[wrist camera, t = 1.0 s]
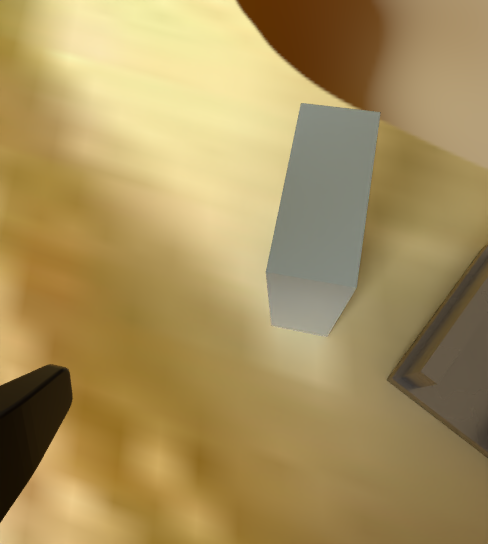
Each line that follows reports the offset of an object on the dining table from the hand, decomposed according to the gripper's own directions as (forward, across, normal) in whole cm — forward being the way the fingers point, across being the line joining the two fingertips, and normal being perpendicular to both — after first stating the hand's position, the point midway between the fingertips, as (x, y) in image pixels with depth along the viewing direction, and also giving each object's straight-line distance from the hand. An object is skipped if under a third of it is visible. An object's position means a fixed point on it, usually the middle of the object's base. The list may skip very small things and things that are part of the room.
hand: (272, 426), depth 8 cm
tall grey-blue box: (+15, 0, +3) cm, 16 cm away
